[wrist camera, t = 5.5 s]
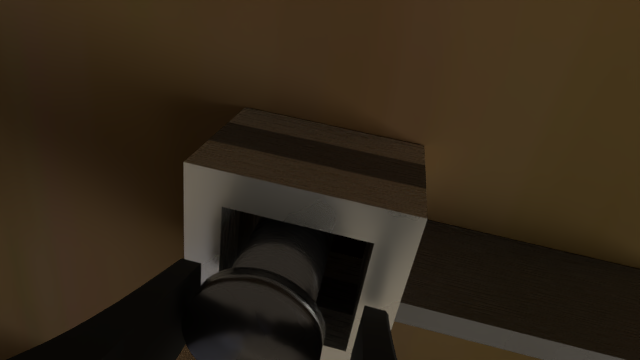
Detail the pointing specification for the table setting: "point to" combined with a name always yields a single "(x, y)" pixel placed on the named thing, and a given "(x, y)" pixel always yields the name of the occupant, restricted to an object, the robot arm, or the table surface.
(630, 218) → the table surface
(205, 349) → the round dark gray knob
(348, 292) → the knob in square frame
